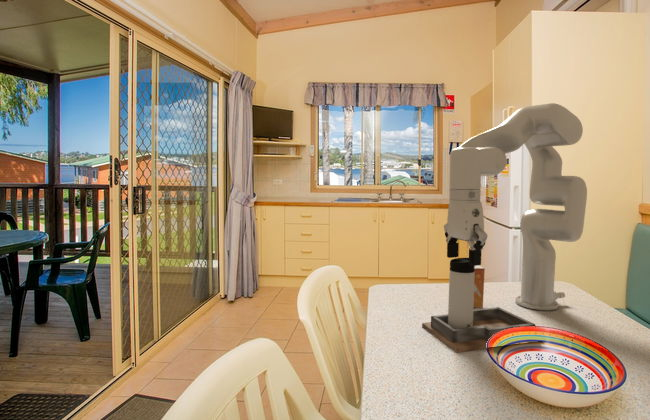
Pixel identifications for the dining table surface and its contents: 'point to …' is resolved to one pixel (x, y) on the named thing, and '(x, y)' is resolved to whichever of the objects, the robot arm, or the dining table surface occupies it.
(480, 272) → the small box
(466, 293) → the travel mug
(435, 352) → the dining table surface
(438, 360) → the dining table surface
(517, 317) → the keyhole cradle
